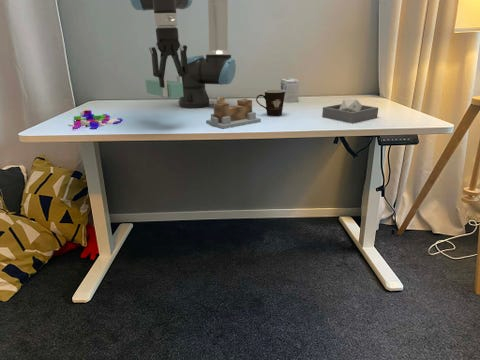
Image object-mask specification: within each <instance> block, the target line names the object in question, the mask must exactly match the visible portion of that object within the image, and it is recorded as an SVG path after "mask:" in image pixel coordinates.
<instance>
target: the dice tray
mask: <svg viewBox="0 0 480 360" xmlns="http://www.w3.org/2000/svg"><path fill="white" fill-rule="evenodd" d="M341 104H342V103H339V104H333V105H329V106H323V107H322V118H326V119H330V120H334V121H339V122H343V123H348V124H355V123H359V122H364V121H369V120H372V119H377V118H378V116H379V107H376V106H369V105H365V104H361V105H362V107H361V109H360V111H356V112H348V111H343V110H339V108H340V106H341Z"/></svg>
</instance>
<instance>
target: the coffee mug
mask: <svg viewBox="0 0 480 360" xmlns="http://www.w3.org/2000/svg"><path fill="white" fill-rule="evenodd" d="M284 95H285V91H284V90H281V89H266V90H264V94H259V95H256V98H255V101H256V103H257V104H258V105H259V106H261V107H262V108H264V109H265V110H266V115H267V116H268V117H280V116H282V115H283V109H284V103H285V102H284ZM260 97H263V98H264V100H265V106H264V105H263V104H261V103H260V102H259V100H258V99H259V98H260Z"/></svg>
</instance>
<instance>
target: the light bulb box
mask: <svg viewBox="0 0 480 360" xmlns="http://www.w3.org/2000/svg"><path fill="white" fill-rule="evenodd" d="M280 90H284V91H285V95H284V103H285V104H286V103H287V104H289V103H299V90H300V80H298V79H297V78H292V77H291V78H288V77H287V78H281V79H280Z"/></svg>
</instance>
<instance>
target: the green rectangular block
mask: <svg viewBox="0 0 480 360" xmlns="http://www.w3.org/2000/svg"><path fill="white" fill-rule="evenodd" d="M166 80H167V79H166ZM145 87H146V88H145V89H146V94H149V95H155V96H160V97H163V98H165V97H164V96H163V90H162V88H161V87H160V83H159V78H151V79H145ZM167 90H168V97H166V99H167V98H168V99H177V98H180V97H184V95H183V83H181V82H177V81H174V80H173V81H172V80H169V79H168V80H167Z"/></svg>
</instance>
